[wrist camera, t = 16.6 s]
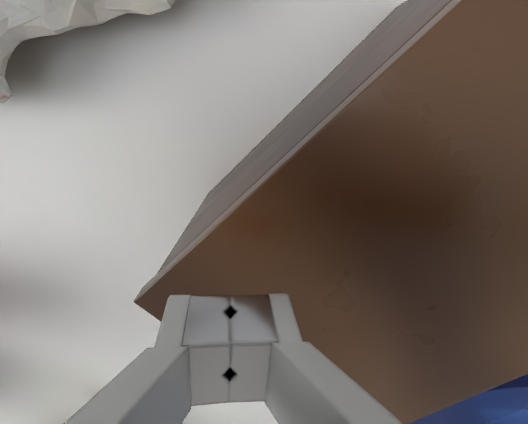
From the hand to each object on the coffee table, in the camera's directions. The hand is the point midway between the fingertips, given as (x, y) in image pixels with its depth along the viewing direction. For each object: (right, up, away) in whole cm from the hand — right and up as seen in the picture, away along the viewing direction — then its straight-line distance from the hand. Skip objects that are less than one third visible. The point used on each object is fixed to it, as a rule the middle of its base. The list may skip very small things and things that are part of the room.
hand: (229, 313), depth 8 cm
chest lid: (+6, 0, +3) cm, 7 cm away
